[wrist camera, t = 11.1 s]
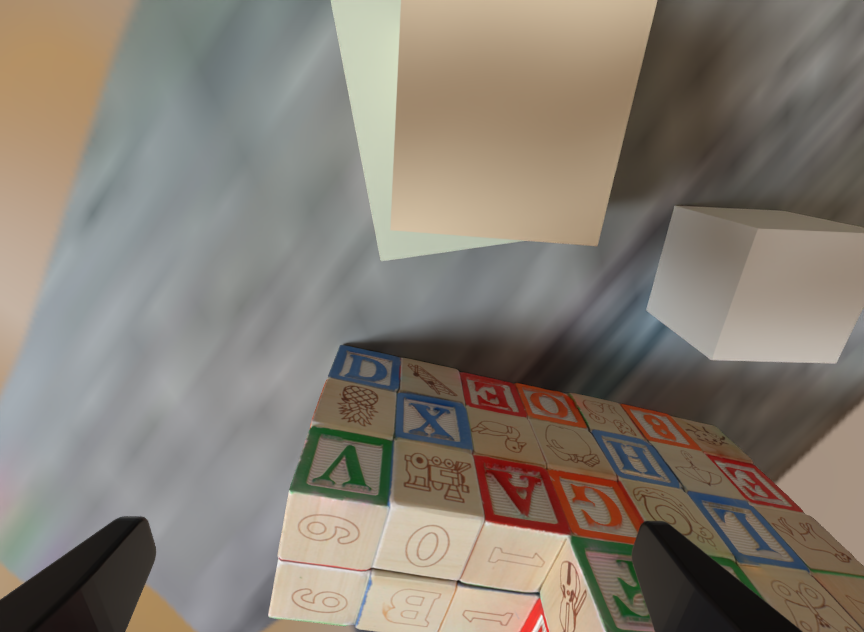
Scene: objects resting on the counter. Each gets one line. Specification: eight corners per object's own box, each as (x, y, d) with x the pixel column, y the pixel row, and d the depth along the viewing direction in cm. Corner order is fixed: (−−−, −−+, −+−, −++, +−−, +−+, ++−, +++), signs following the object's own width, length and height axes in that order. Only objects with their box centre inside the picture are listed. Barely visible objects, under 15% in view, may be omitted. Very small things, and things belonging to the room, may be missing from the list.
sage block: (564, 211, 19) (600, 229, 15) (387, 236, 19) (380, 261, 15) (562, -7, 16) (607, -50, 12) (349, 27, 16) (329, -6, 12)
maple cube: (540, 211, 15) (597, 246, 10) (398, 199, 14) (390, 230, 10) (571, 44, 13) (658, -5, 8) (407, 26, 12) (403, -36, 8)
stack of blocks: (318, 439, 23) (225, 733, 12) (339, 340, 21) (247, 588, 9) (666, 504, 26) (860, 789, 15) (719, 423, 24) (997, 689, 12)
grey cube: (743, 312, 21) (836, 363, 16) (645, 309, 21) (711, 359, 16) (781, 210, 19) (898, 234, 14) (673, 205, 19) (758, 228, 14)
